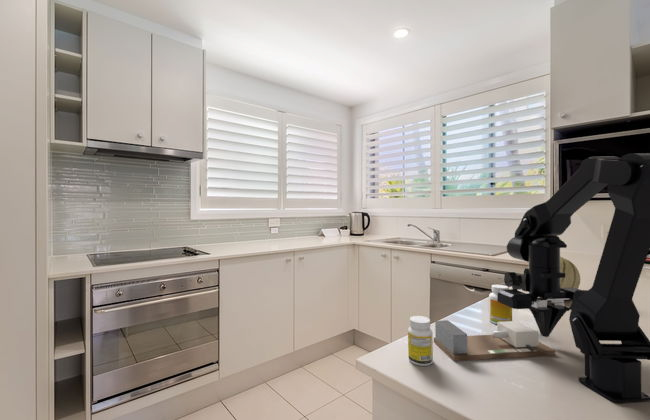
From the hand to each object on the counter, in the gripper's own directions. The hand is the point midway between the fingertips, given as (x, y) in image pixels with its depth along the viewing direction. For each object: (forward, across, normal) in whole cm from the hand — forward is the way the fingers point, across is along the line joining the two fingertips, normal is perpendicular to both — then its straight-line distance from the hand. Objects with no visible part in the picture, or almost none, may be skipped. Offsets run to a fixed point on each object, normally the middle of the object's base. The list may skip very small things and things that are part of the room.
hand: (544, 336), depth 68 cm
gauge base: (+2, +13, 0) cm, 13 cm away
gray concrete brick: (+1, +22, 0) cm, 22 cm away
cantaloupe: (+2, -31, -33) cm, 46 cm away
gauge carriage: (+1, +8, +1) cm, 8 cm away
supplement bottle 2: (+2, +1, -14) cm, 14 cm away
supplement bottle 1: (+2, +30, +4) cm, 30 cm away
